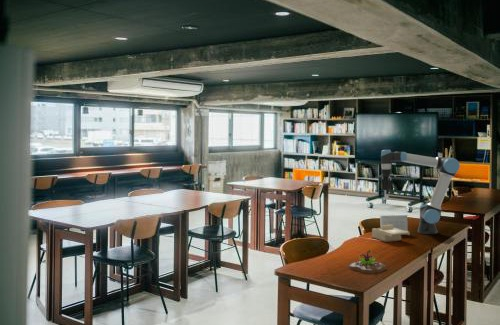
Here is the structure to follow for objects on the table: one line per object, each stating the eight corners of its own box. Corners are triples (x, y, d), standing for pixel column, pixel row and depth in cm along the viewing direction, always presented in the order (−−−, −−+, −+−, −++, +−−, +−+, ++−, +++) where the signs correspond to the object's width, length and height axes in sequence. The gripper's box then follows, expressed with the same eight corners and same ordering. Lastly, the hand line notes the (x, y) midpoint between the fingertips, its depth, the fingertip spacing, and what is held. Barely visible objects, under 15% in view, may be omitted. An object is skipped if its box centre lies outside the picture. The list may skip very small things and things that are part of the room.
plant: (392, 269, 273) (392, 251, 272) (370, 275, 262) (370, 256, 261) (366, 262, 289) (366, 245, 289) (344, 268, 278) (344, 250, 278)
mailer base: (387, 235, 367) (387, 227, 367) (401, 240, 350) (400, 231, 350) (372, 237, 363) (372, 228, 363) (385, 241, 346) (385, 232, 346)
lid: (395, 230, 358) (394, 224, 358) (409, 235, 341) (409, 228, 341) (377, 232, 354) (377, 225, 354) (391, 236, 337) (391, 229, 336)
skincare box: (406, 233, 375) (406, 214, 375) (408, 234, 370) (407, 215, 369) (380, 233, 377) (379, 214, 377) (381, 234, 372) (381, 215, 371)
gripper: (377, 168, 372) (377, 197, 373) (386, 169, 360) (387, 199, 361) (385, 168, 374) (385, 196, 375) (395, 169, 362) (395, 198, 363)
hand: (386, 198), depth 368 cm, fingers closed
